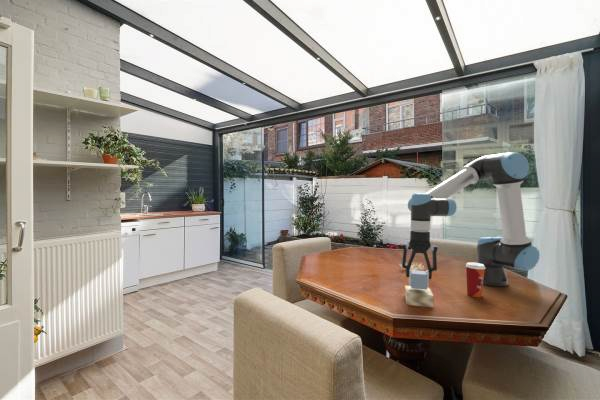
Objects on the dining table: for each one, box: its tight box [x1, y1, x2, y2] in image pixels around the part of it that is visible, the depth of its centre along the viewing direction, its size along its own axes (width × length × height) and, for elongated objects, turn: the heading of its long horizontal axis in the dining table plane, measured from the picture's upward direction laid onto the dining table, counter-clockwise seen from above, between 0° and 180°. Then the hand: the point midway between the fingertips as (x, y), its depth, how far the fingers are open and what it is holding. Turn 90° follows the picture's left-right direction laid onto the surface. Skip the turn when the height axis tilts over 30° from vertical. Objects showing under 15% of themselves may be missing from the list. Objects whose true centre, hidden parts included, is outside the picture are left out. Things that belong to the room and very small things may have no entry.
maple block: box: [404, 285, 435, 308], centre depth 124 cm, size 10×10×5 cm
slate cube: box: [411, 269, 428, 290], centre depth 124 cm, size 6×6×6 cm
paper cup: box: [465, 261, 485, 298], centre depth 132 cm, size 8×8×14 cm
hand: (418, 285), depth 124 cm, fingers closed on slate cube, 6 cm apart
